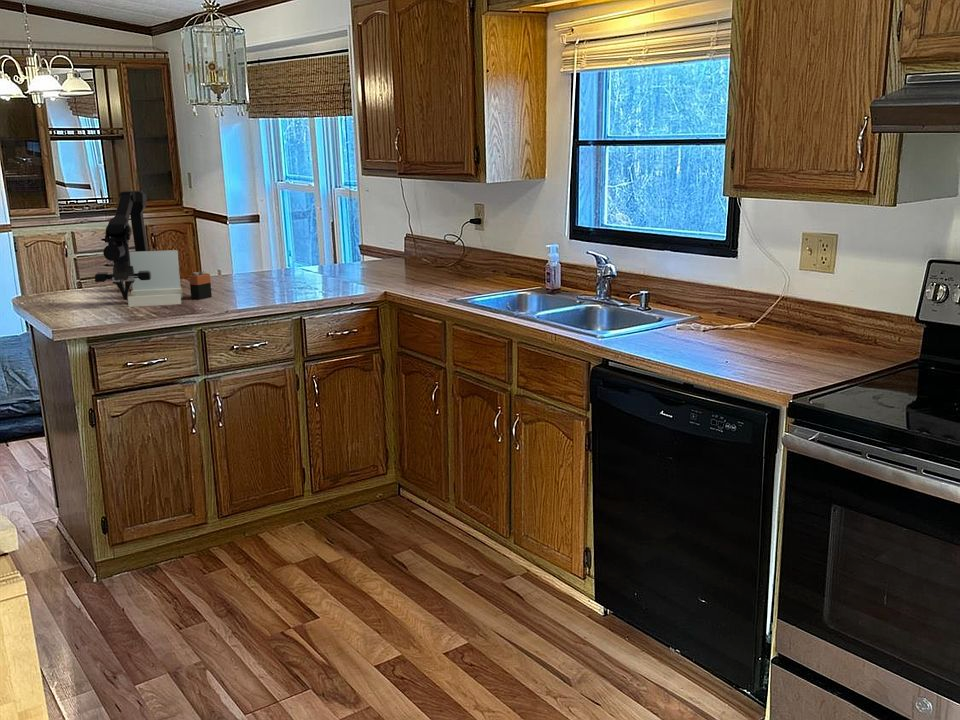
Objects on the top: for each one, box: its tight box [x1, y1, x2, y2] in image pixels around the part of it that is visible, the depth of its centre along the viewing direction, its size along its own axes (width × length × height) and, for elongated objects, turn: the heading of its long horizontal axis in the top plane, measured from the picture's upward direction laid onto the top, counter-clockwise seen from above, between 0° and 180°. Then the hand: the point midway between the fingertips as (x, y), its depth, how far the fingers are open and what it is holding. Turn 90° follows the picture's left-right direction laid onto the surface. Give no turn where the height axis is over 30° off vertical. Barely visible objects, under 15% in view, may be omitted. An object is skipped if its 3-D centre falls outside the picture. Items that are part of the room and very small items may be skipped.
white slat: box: [127, 287, 183, 308], centre depth 320 cm, size 14×18×4 cm
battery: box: [188, 271, 212, 300], centre depth 327 cm, size 4×7×10 cm, turn 151°
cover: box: [129, 249, 181, 291], centre depth 326 cm, size 14×17×1 cm
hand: (125, 299), depth 317 cm, fingers closed
